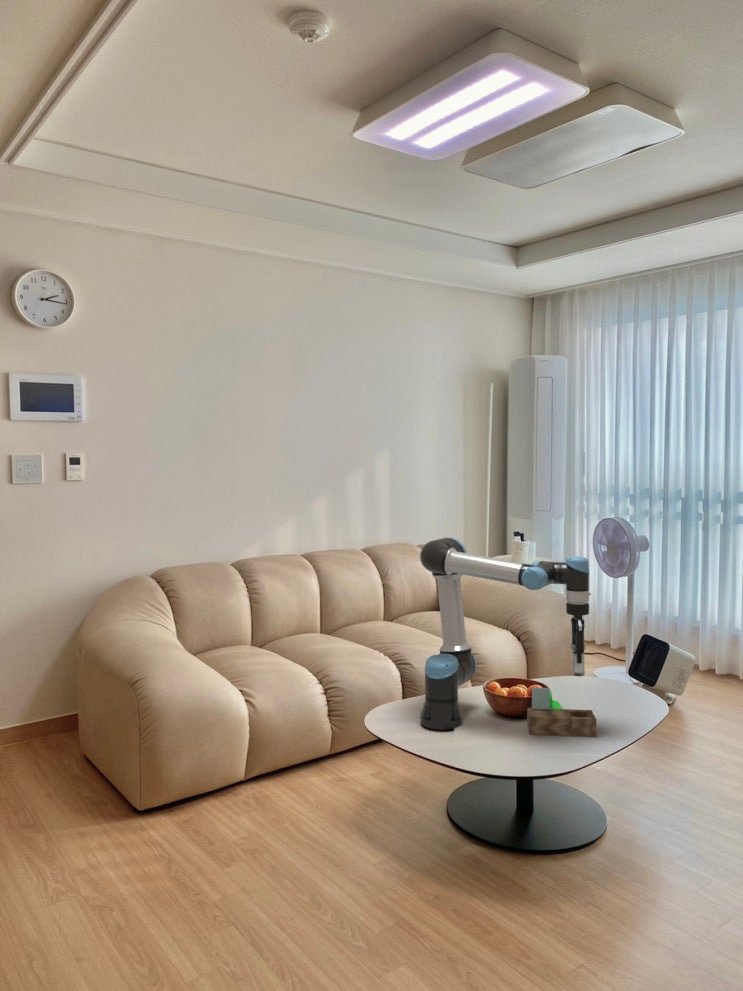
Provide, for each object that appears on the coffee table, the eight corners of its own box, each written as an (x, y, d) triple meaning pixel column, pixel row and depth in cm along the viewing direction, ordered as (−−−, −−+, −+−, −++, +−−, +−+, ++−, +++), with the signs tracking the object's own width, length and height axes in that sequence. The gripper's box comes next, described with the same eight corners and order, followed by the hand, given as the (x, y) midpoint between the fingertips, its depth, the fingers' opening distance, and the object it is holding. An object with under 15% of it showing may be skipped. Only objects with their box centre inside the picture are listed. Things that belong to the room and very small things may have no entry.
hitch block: (529, 734, 268) (529, 717, 267) (527, 724, 277) (527, 708, 277) (596, 737, 265) (596, 719, 265) (591, 727, 275) (591, 710, 275)
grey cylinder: (572, 676, 267) (572, 646, 267) (570, 672, 272) (569, 643, 272) (586, 676, 267) (586, 646, 267) (584, 672, 272) (584, 643, 271)
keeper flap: (531, 709, 275) (531, 687, 275) (531, 709, 276) (531, 687, 276) (550, 710, 274) (550, 688, 274) (550, 710, 275) (550, 688, 275)
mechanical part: (563, 715, 288) (563, 693, 288) (546, 715, 289) (546, 693, 288) (557, 705, 300) (557, 684, 300) (541, 705, 301) (541, 684, 300)
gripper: (592, 607, 260) (593, 677, 261) (585, 598, 277) (585, 664, 277) (569, 606, 261) (569, 677, 262) (563, 598, 278) (563, 664, 278)
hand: (577, 670), depth 269 cm, fingers closed on grey cylinder, 4 cm apart
